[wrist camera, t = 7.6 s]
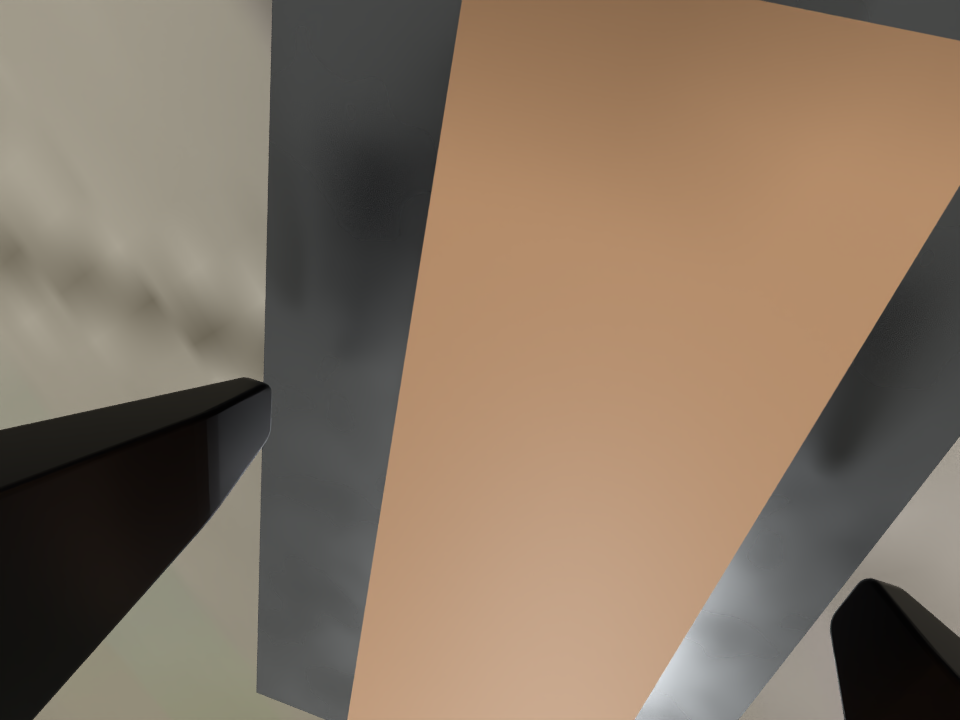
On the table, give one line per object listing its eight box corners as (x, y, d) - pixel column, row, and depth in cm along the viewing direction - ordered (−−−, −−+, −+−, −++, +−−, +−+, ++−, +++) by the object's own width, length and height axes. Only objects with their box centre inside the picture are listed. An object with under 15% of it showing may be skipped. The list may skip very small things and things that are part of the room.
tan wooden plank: (782, 93, 9) (1038, 55, 4) (577, 577, 14) (555, 848, 9) (553, 43, 9) (470, -59, 4) (439, 530, 15) (340, 762, 9)
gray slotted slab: (1277, -299, 6) (1781, -615, 4) (636, 725, 16) (641, 844, 14) (405, -413, 7) (289, -709, 5) (310, 604, 17) (256, 692, 15)
